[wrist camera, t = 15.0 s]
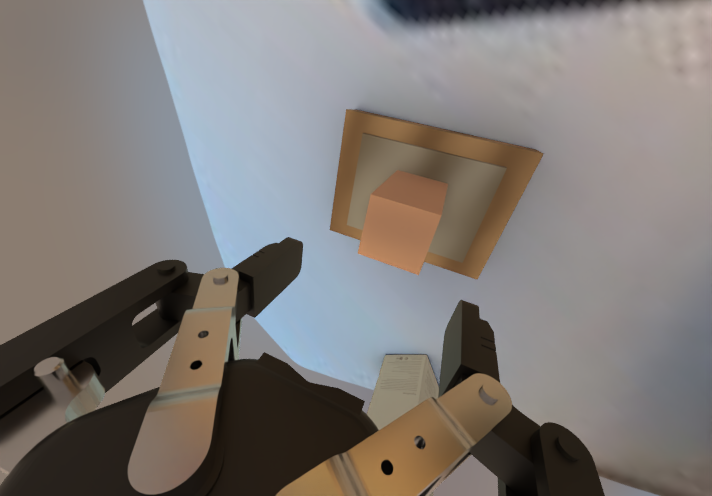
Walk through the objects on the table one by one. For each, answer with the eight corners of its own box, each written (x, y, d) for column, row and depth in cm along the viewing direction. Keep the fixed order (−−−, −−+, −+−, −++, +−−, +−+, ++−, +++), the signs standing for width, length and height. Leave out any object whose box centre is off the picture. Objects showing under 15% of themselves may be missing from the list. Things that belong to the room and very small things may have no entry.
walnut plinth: (535, 149, 21) (545, 154, 19) (476, 266, 28) (477, 282, 25) (356, 109, 25) (344, 109, 22) (338, 221, 31) (327, 231, 29)
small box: (384, 353, 38) (353, 449, 28) (427, 353, 35) (411, 460, 25) (401, 392, 41) (378, 493, 30) (442, 395, 38) (434, 508, 27)
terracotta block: (448, 183, 22) (441, 215, 15) (430, 230, 24) (418, 274, 18) (397, 169, 23) (370, 194, 16) (385, 215, 25) (357, 253, 19)
